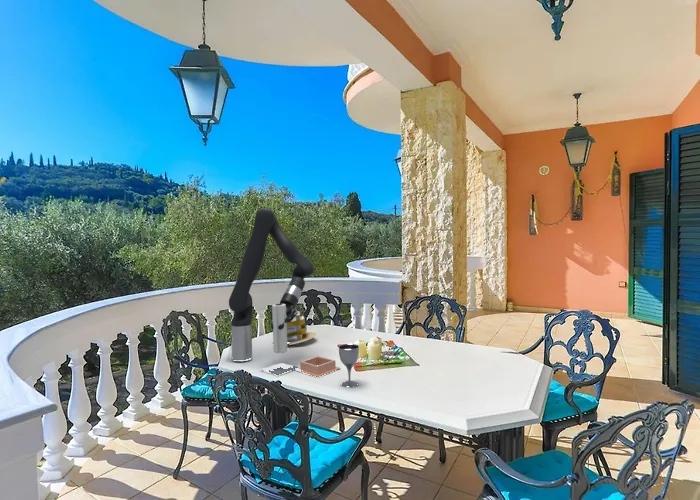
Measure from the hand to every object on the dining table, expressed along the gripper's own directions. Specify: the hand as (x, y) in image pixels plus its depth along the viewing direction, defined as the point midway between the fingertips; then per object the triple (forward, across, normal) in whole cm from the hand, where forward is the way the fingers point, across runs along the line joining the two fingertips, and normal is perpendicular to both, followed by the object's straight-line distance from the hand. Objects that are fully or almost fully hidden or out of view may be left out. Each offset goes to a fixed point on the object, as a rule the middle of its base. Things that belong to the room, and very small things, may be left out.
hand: (276, 328), depth 173 cm
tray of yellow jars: (-18, -22, +45) cm, 53 cm away
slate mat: (+12, 0, +14) cm, 19 cm away
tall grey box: (+6, 0, +9) cm, 11 cm away
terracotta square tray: (+8, +16, +19) cm, 26 cm away
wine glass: (+15, +36, +12) cm, 41 cm away
